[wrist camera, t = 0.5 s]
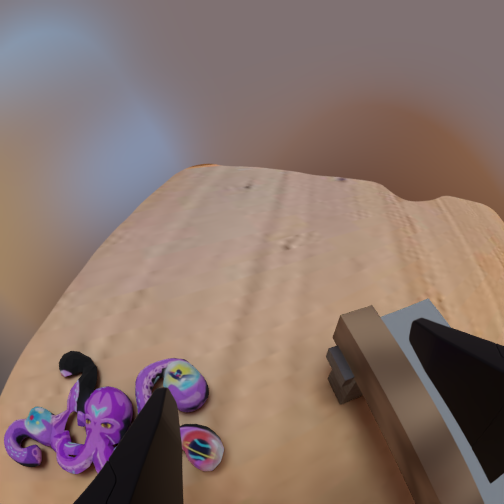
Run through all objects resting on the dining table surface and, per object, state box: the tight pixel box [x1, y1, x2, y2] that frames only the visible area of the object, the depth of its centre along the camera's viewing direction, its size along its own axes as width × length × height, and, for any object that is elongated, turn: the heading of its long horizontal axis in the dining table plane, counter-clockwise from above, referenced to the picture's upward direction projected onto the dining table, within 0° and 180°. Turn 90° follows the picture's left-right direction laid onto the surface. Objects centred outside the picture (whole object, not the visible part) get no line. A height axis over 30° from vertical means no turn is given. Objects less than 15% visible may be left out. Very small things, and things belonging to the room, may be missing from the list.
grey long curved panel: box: [381, 299, 504, 504], centre depth 18 cm, size 32×9×1 cm, turn 15°
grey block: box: [326, 346, 363, 404], centre depth 22 cm, size 3×6×6 cm, turn 105°
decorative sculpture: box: [4, 351, 224, 474], centre depth 19 cm, size 23×4×15 cm
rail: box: [333, 305, 484, 504], centre depth 12 cm, size 26×3×3 cm, turn 15°
